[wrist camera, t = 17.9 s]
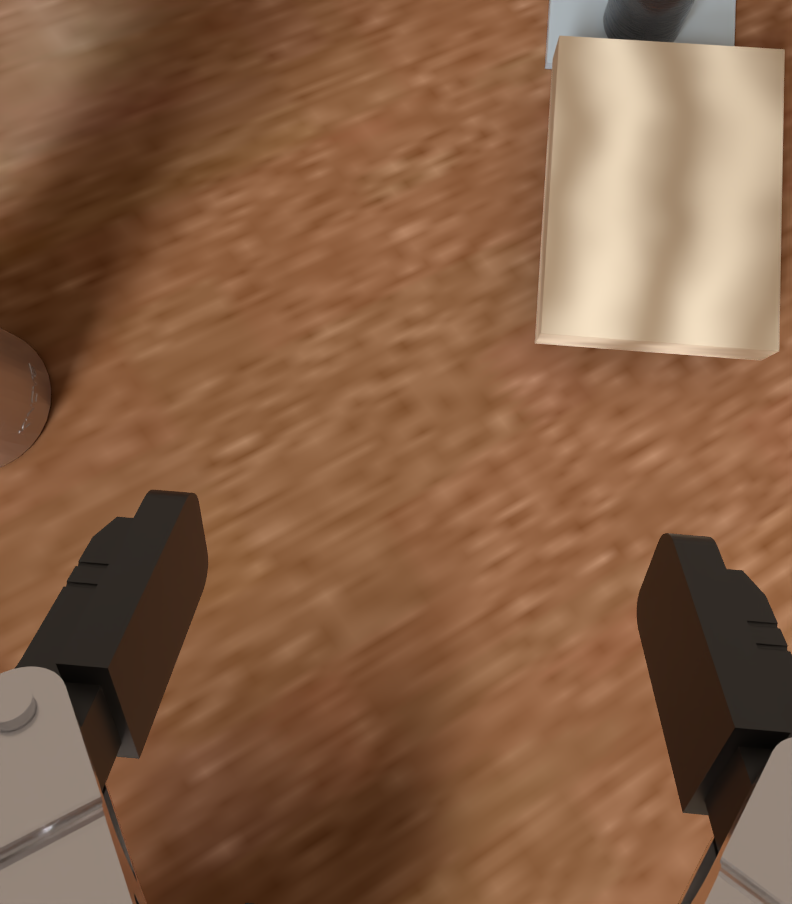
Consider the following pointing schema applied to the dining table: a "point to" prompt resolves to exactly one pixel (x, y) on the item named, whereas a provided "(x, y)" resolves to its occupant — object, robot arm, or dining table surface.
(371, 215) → the dining table surface
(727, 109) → the birch slab
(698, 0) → the slate-grey pad
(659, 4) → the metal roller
